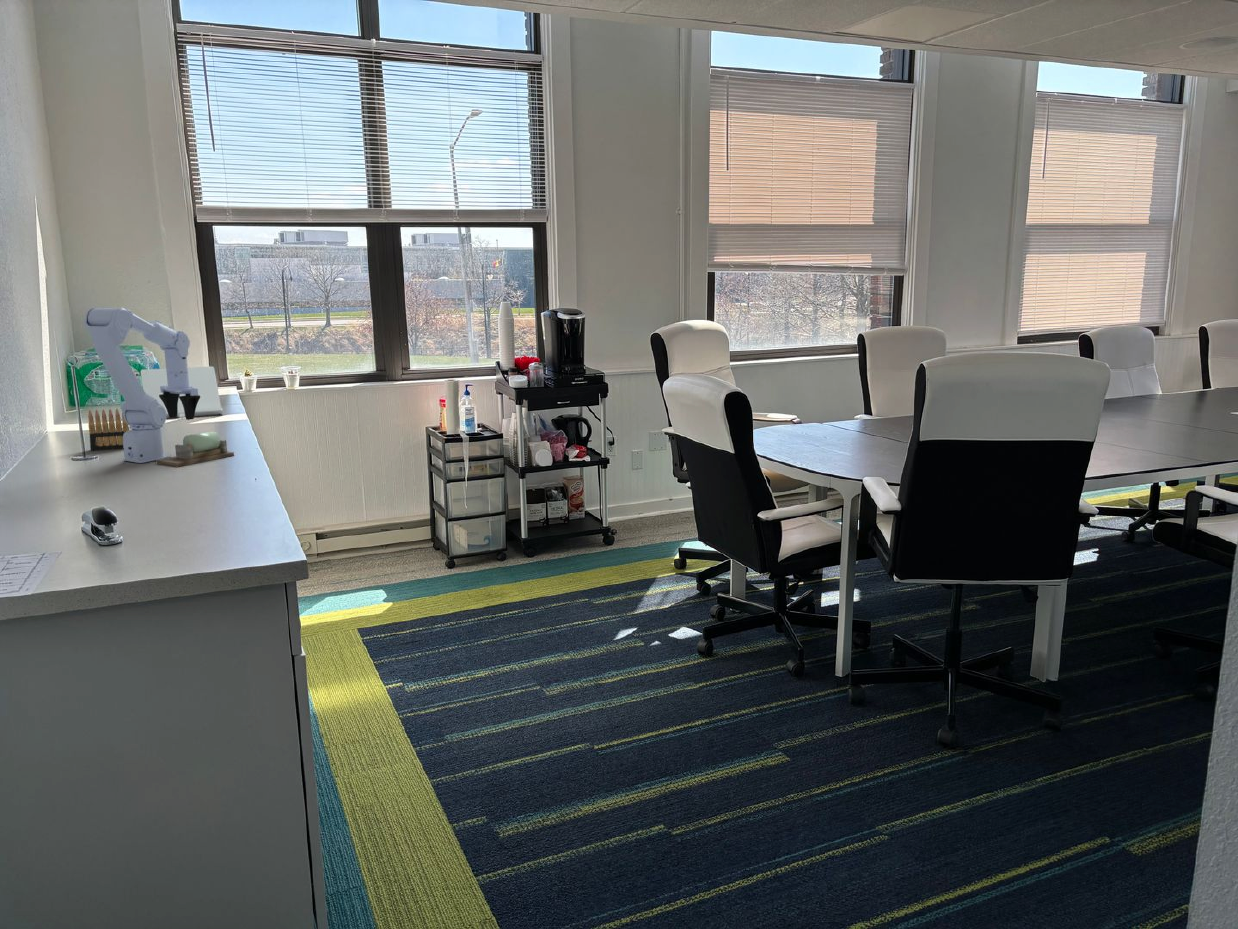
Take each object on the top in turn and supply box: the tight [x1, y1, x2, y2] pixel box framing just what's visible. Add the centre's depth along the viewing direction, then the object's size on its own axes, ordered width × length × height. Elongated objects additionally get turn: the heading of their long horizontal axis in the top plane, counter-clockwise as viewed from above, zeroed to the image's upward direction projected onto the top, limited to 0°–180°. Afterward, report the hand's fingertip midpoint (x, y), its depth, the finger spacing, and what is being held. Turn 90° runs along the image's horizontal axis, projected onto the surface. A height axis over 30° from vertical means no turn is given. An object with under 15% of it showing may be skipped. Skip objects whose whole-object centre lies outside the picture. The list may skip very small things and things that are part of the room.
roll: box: [182, 430, 221, 453], centre depth 259 cm, size 8×5×5 cm, turn 151°
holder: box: [156, 439, 235, 468], centre depth 257 cm, size 18×9×4 cm, turn 151°
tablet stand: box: [140, 366, 224, 419], centre depth 338 cm, size 18×25×17 cm
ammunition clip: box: [88, 408, 130, 452], centre depth 272 cm, size 11×2×12 cm, turn 114°
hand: (181, 418), depth 270 cm, fingers open, 7 cm apart
